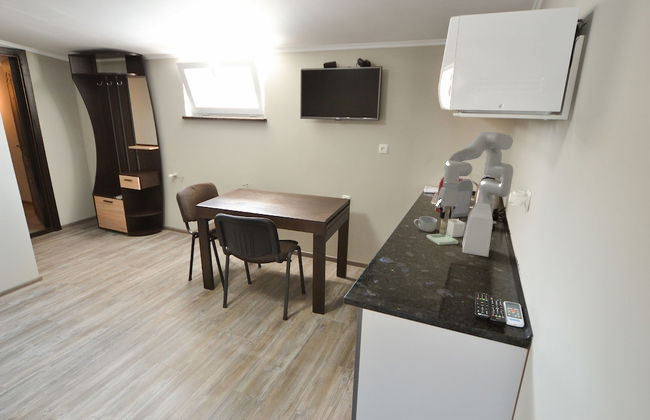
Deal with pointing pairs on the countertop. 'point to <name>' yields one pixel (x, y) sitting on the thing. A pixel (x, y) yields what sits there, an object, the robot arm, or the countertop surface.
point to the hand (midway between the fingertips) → (445, 217)
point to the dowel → (444, 222)
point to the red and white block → (460, 197)
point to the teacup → (426, 223)
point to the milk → (478, 230)
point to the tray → (442, 239)
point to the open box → (455, 228)
